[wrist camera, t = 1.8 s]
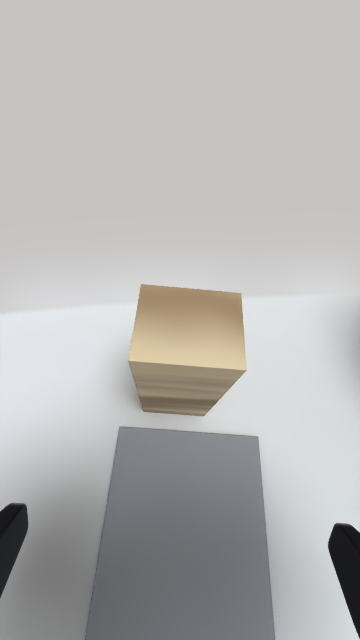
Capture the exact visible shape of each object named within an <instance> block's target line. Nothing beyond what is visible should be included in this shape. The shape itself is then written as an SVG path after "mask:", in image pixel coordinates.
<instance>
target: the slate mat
mask: <svg viewBox="0 0 360 640" xmlns="http://www.w3.org/2000/svg"><path fill="white" fill-rule="evenodd" d="M85 640H275V633H274V621H273V609H272V597H271V585H270V573H269V561H268V549H267V537H266V525H265V513H264V500H263V488H262V476H261V464H260V452H259V440H258V437H257V436H243V435H229V434H215V433H201V432H188V431H174V430H160V429H146V428H133V427H120V428H119V434H118V440H117V446H116V452H115V458H114V464H113V471H112V477H111V483H110V489H109V495H108V501H107V507H106V513H105V520H104V526H103V532H102V538H101V544H100V550H99V556H98V562H97V569H96V575H95V581H94V587H93V593H92V599H91V605H90V612H89V618H88V624H87V630H86V636H85Z"/></svg>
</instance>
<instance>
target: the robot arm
mask: <svg viewBox="0 0 360 640" xmlns="http://www.w3.org/2000/svg"><path fill="white" fill-rule="evenodd" d="M27 530H28V515H27V506H26V505H25V504H24V503H11V504H9V505H7V506H6V507H5V508H4V509H3V510H1V511H0V597H1V595H2V593H3V590H4V588H5V585H6V583H7V580H8V578H9V575H10V573H11V570H12V568H13V565H14V563H15V561H16V558H17V556H18V553H19V551H20V548H21V546H22V543H23V541H24V538H25V536H26V533H27ZM328 549H329V553H330V556H331V559H332V562H333V565H334V568H335V571H336V574H337V577H338V579H339V582H340V585H341V588H342V591H343V594H344V597H345V600H346V603H347V606H348V609H349V612H350V615H351V617H352V620H353V623H354V626H355V628H356V631H357V633H358V636H359V638H360V533H359V532H358V531H357V530H356V529H355V528H354V527H353V526H351V525H350V524H344V523H336V524H335V525H334V527H333V530H332V533H331V536H330V539H329V542H328Z"/></svg>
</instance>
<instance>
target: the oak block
mask: <svg viewBox="0 0 360 640" xmlns="http://www.w3.org/2000/svg"><path fill="white" fill-rule="evenodd" d="M128 361H129V365H130V368H131V371H132V374H133V378H134V381H135V384H136V388H137V391H138V394H139V397H140V401H141V404H142V407H143V411H144V412H155V413H169V414H182V415H196V416H205V414H206V413H207V412H208V411H209V410H210V409H211V408H212V407H213V406H214V405H215V404H216V403H217V402H218V400H219V399H220V398H221V397H222V396H223V395H224V394H225V393H226V392H227V391H228V390H229V389H230V388H231V386H232V385H233V384H234V383H235V382H236V381H237V380H238V379H239V378H240V377H241V376H242V375H243V374H244V373H245V371H246V356H245V342H244V328H243V313H242V299H241V293H231V292H222V291H210V290H200V289H188V288H177V287H166V286H155V285H143V284H142V285H141V288H140V294H139V300H138V306H137V312H136V318H135V324H134V330H133V336H132V342H131V348H130V354H129V360H128Z"/></svg>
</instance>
